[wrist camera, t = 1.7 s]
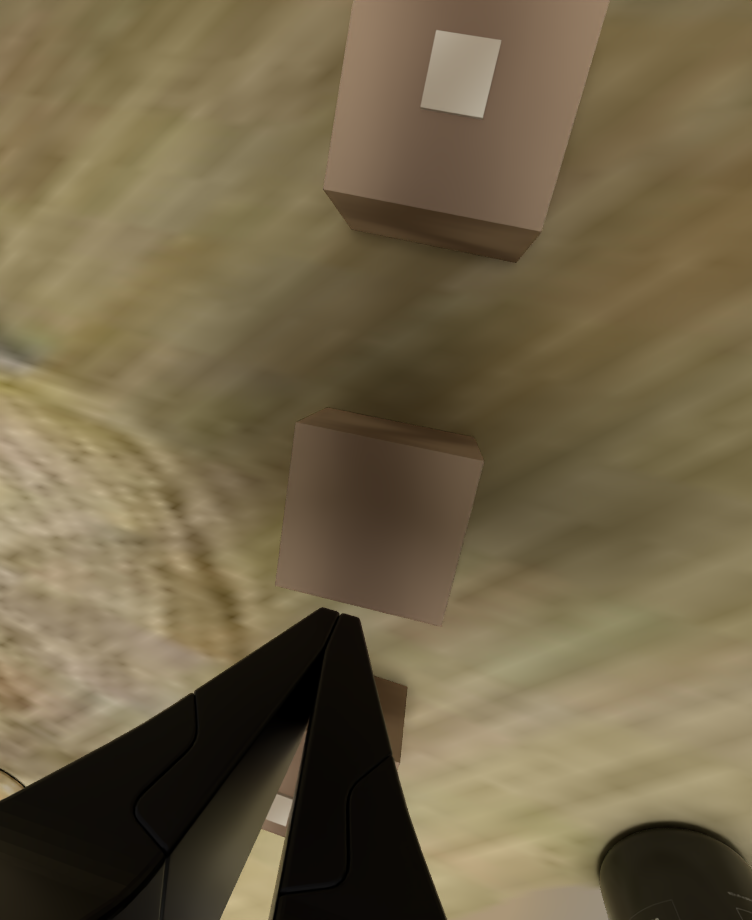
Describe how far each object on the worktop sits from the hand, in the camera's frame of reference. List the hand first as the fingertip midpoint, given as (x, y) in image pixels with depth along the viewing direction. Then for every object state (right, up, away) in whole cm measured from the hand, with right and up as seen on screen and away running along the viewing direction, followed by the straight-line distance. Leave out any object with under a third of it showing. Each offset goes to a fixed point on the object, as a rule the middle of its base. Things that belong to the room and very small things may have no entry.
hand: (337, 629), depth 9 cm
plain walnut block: (+1, +2, +9) cm, 9 cm away
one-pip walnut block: (+3, +14, +5) cm, 16 cm away
